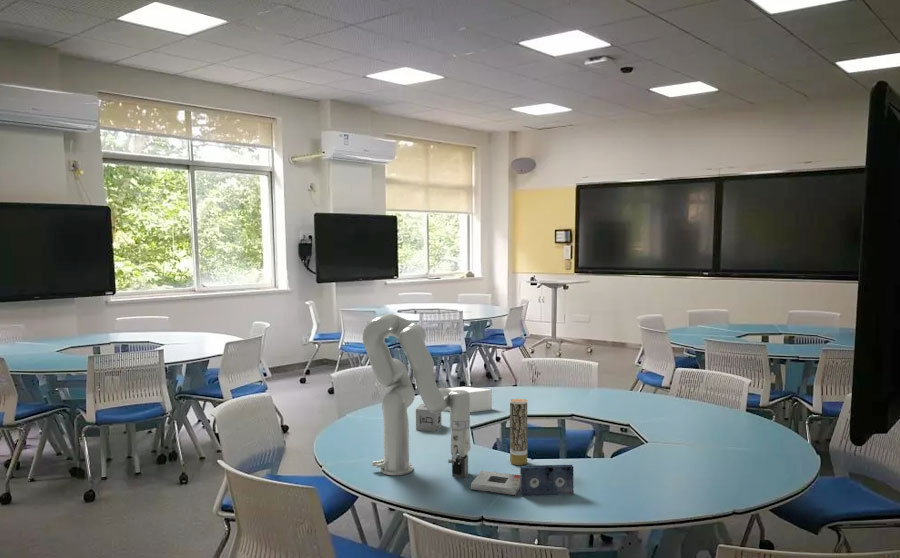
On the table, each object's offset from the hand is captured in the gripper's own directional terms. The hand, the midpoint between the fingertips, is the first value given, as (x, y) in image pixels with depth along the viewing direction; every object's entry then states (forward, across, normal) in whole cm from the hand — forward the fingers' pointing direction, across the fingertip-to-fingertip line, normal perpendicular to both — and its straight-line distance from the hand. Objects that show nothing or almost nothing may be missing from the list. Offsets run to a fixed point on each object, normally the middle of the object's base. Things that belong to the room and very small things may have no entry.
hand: (460, 470), depth 224 cm
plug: (+2, 0, 0) cm, 2 cm away
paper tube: (+2, +20, -18) cm, 27 cm away
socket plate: (+2, -6, -16) cm, 17 cm away
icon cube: (+2, +52, +34) cm, 62 cm away
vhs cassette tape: (+2, -7, -34) cm, 35 cm away
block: (+2, +89, +28) cm, 93 cm away
